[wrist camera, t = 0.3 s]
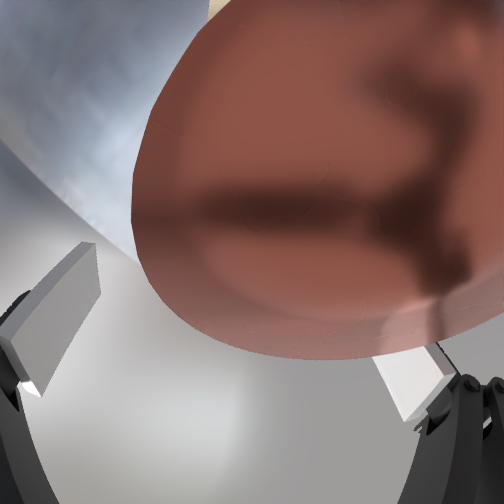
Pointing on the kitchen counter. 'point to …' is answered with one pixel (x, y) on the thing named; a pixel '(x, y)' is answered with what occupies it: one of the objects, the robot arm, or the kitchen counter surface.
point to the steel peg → (329, 176)
